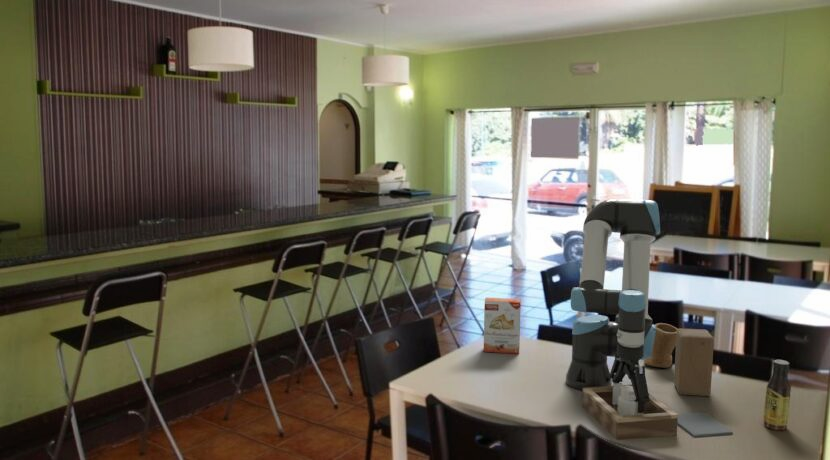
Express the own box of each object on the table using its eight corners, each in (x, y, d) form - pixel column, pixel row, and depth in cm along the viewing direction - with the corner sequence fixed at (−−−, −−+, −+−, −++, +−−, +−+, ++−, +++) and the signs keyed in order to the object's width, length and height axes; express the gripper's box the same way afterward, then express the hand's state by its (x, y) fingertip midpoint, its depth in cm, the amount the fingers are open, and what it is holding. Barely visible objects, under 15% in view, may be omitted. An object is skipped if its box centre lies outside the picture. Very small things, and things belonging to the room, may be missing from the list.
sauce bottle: (758, 422, 200) (763, 357, 197) (778, 421, 200) (783, 357, 198) (771, 432, 193) (776, 365, 191) (792, 431, 194) (797, 364, 191)
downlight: (611, 422, 200) (614, 390, 199) (613, 413, 207) (616, 382, 205) (639, 427, 197) (642, 395, 196) (641, 418, 204) (644, 386, 202)
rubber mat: (667, 416, 204) (667, 414, 204) (703, 413, 206) (704, 412, 206) (693, 436, 190) (693, 434, 190) (732, 433, 192) (732, 431, 192)
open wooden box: (582, 406, 212) (582, 387, 211) (635, 402, 215) (636, 384, 214) (617, 439, 189) (618, 419, 188) (676, 434, 192) (677, 414, 191)
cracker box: (483, 352, 265) (483, 300, 262) (484, 348, 271) (484, 296, 268) (519, 354, 262) (520, 301, 259) (519, 349, 268) (520, 298, 265)
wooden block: (711, 397, 219) (714, 337, 216) (678, 395, 221) (681, 335, 218) (704, 386, 229) (707, 328, 226) (673, 384, 231) (676, 327, 228)
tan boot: (676, 372, 243) (678, 331, 240) (641, 367, 247) (643, 327, 245) (678, 359, 256) (680, 320, 254) (645, 355, 261) (647, 317, 259)
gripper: (600, 332, 210) (597, 397, 213) (639, 358, 186) (636, 431, 189) (622, 331, 212) (619, 396, 214) (664, 356, 187) (660, 429, 190)
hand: (627, 412), depth 202 cm, fingers open, 13 cm apart
